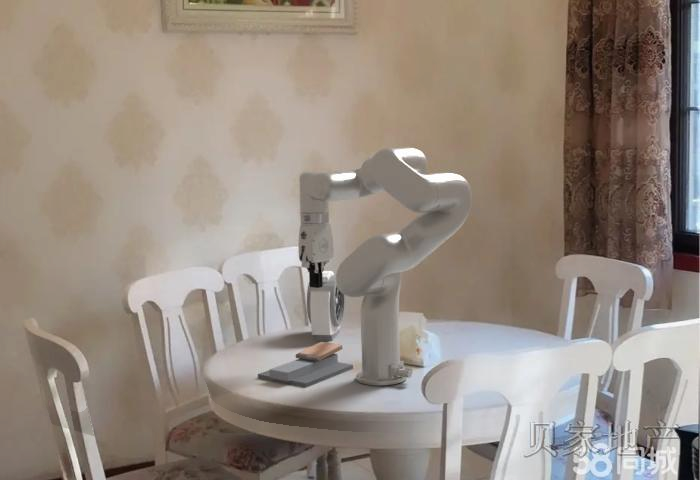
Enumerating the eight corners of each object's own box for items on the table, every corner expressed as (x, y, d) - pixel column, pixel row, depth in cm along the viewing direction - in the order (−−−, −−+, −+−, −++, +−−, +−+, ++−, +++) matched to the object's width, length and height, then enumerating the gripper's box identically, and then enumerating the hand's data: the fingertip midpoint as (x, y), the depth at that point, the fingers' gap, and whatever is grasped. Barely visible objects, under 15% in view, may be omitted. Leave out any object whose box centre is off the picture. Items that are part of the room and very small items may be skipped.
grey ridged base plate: (353, 368, 220) (352, 356, 220) (304, 388, 204) (303, 375, 204) (305, 360, 230) (305, 349, 229) (255, 379, 213) (254, 366, 213)
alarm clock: (334, 343, 248) (332, 276, 245) (306, 343, 249) (304, 276, 247) (346, 330, 265) (344, 267, 263) (320, 329, 267) (318, 267, 264)
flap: (316, 357, 215) (316, 362, 215) (342, 344, 224) (342, 349, 224) (295, 354, 219) (295, 358, 219) (321, 341, 228) (321, 345, 228)
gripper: (308, 222, 213) (310, 293, 215) (342, 216, 225) (343, 283, 227) (285, 220, 217) (287, 290, 219) (320, 215, 229) (321, 281, 232)
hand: (316, 286), depth 223 cm, fingers closed
